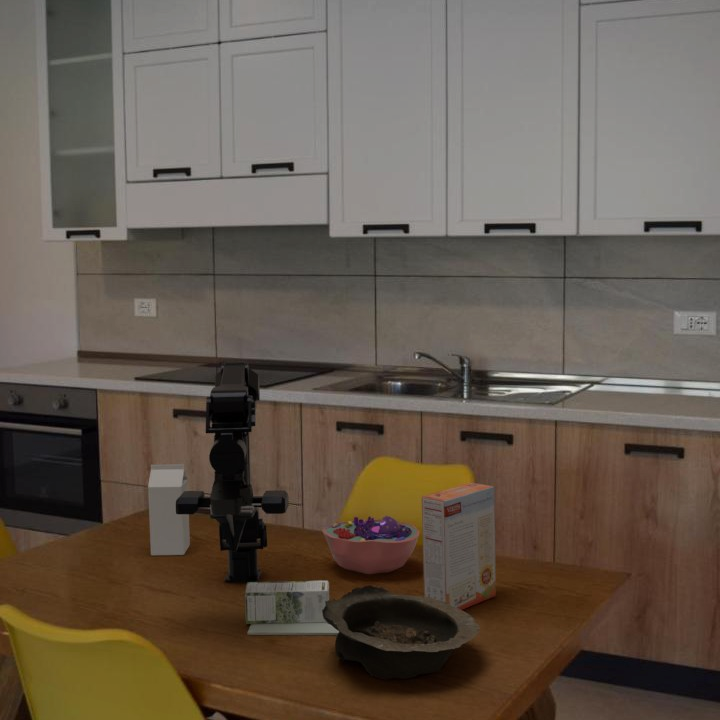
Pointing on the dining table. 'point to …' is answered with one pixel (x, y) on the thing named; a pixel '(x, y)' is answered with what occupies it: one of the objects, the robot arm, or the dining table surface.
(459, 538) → the cracker box
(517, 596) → the dining table surface
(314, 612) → the syrup box
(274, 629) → the mat
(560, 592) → the dining table surface
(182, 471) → the milk carton
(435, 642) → the stone bowl
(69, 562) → the dining table surface
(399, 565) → the cell model
